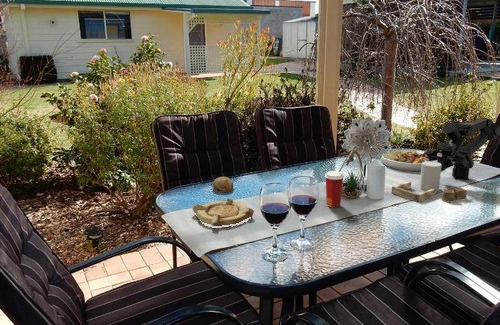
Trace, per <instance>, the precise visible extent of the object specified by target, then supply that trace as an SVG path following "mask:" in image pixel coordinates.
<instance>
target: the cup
mask: <svg viewBox="0 0 500 325" xmlns="http://www.w3.org/2000/svg"><path fill="white" fill-rule="evenodd" d="M441 165H442V164H441V163H438V162H433V161H425V162H422V168H421V171H420V180H419V190H421V191H422V192H425V191H427V190H430V189H435V193H436V192H437V193H438V192H439V190H440V183H441V182H440V181H441Z"/></svg>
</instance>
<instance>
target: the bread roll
mask: <svg viewBox="0 0 500 325" xmlns="http://www.w3.org/2000/svg"><path fill="white" fill-rule="evenodd" d="M211 187H212V189H213V192H215V193H220V192H223V193H224V194H225V192H227V193H231V192H232V191H233V189H234V182H233V180H232V179H231V178H229V177H227V176H220V177H217V178H215V179H214V180H213V182H212V186H211Z"/></svg>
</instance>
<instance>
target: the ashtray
mask: <svg viewBox="0 0 500 325" xmlns="http://www.w3.org/2000/svg"><path fill="white" fill-rule="evenodd" d="M192 211H193V214H194V213H196V215H197V217H196V218H197V219H200V220H201V221H202V222H204V223H207V224H211V225H212V226H222V225H230V224H236V223H239V222H241V221H243V220H245V219H247V218H249V217H252V218H253V215H254V214H255V210H254V209H252V208H250V207H248V206H247V205H245V204H243V203H241V202H237V201H236V202H235V201H234V200H233V199H232V198H230V197H227V198H226V200H225V201H224V200H219V201H218V200H217V201H212V202H208V203H206V204H203V205H202V204H199V203H197V204H195V205H194V206H192ZM200 220H199V221H200Z"/></svg>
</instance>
